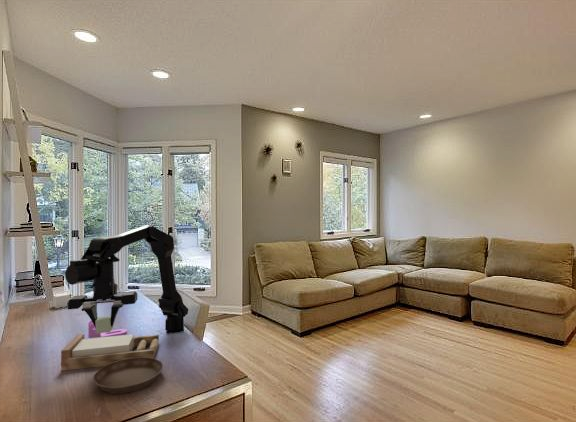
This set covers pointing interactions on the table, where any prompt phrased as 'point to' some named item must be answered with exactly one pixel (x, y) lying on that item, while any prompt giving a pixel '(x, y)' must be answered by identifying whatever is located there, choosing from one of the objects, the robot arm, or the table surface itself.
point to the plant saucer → (128, 374)
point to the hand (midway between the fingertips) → (104, 327)
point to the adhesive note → (60, 300)
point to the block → (103, 324)
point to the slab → (103, 345)
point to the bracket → (93, 333)
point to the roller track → (106, 359)
